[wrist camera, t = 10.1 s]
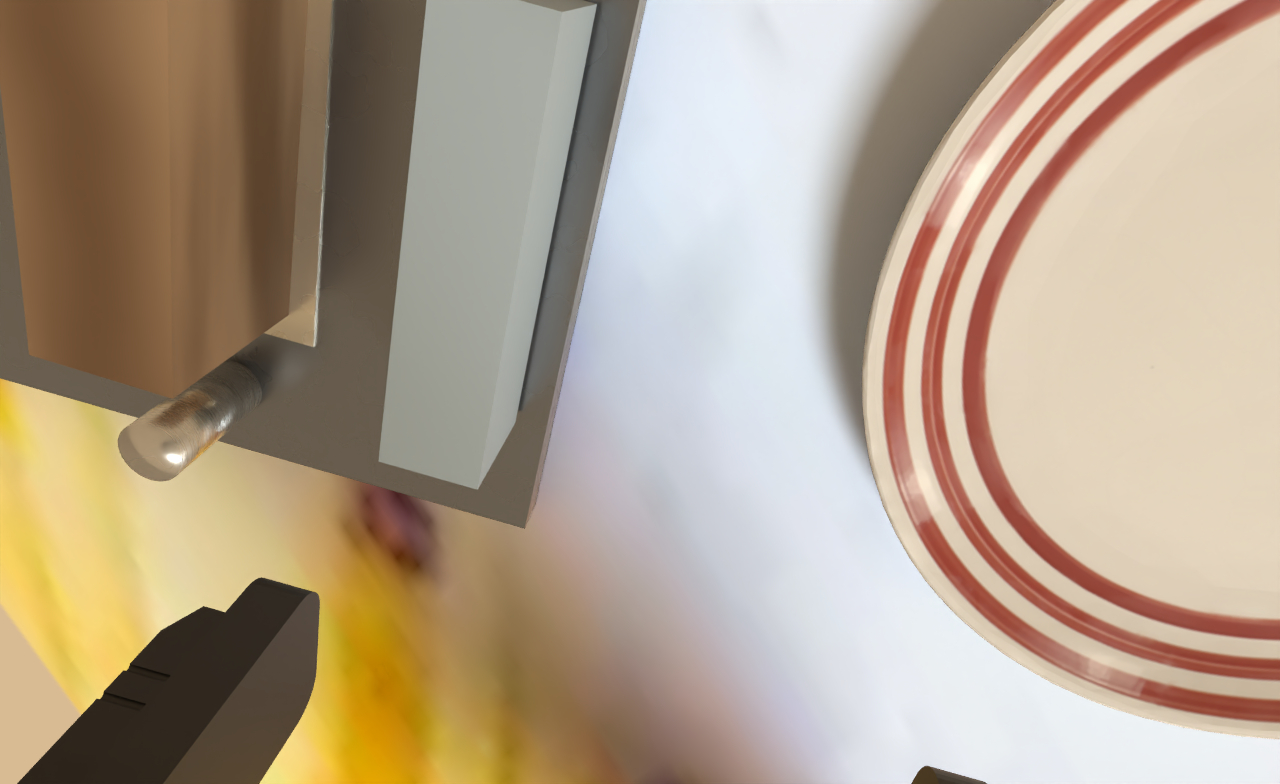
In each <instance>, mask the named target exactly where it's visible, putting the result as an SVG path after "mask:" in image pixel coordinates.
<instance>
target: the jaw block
mask: <svg viewBox="0 0 1280 784" xmlns="http://www.w3.org/2000/svg"><path fill="white" fill-rule="evenodd" d="M307 14H308V0H0V88H1V97H2V106H3V116H4V125H5V134H6V144H7V153H8V162H9V172H10V181H11V190H12V200H13V209H14V219H15V228H16V237H17V247H18V256H19V265H20V275H21V284H22V293H23V303H24V312H25V321H26V331H27V340H28V349H29V355H31V356H34V357H38V358H41V359H44V360H47V361H51V362H54V363H57V364H61V365H64V366H67V367H70V368H74V369H77V370H80V371H83V372H87V373H90V374H93V375H96V376H100V377H103V378H106V379H110V380H113V381H116V382H119V383H123V384H126V385H129V386H132V387H136V388H139V389H142V390H146V391H149V392H152V393H155V394H159V395H162V396H165V397H168V398H172V399H173V398H175V397H176V396H177V395H179V394H180V393H182V392H183V391H184V390H186V389H187V388H188V387H190V386H191V385H193V384H194V383H195V382H197V381H198V380H200V379H201V378H202V377H204V376H205V375H206V374H208V373H209V372H211V371H212V370H213V369H215V368H216V367H218V366H219V365H220V364H222V363H223V362H224V361H226V360H227V359H229V358H230V357H231V356H233V355H234V354H235V353H237V352H238V351H240V350H241V349H242V348H244V347H245V346H247V345H248V344H249V343H251V342H252V341H253V340H255V339H256V338H258V337H259V336H260V335H262V334H263V333H265V332H266V331H267V330H269V329H270V328H271V327H273V326H274V325H276V324H277V323H278V322H280V321H281V320H282V319H284V318H285V317H287V316H288V315H289V304H290V288H291V271H292V255H293V239H294V223H295V207H296V191H297V175H298V159H299V143H300V127H301V110H302V94H303V78H304V62H305V46H306V30H307Z"/></svg>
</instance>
